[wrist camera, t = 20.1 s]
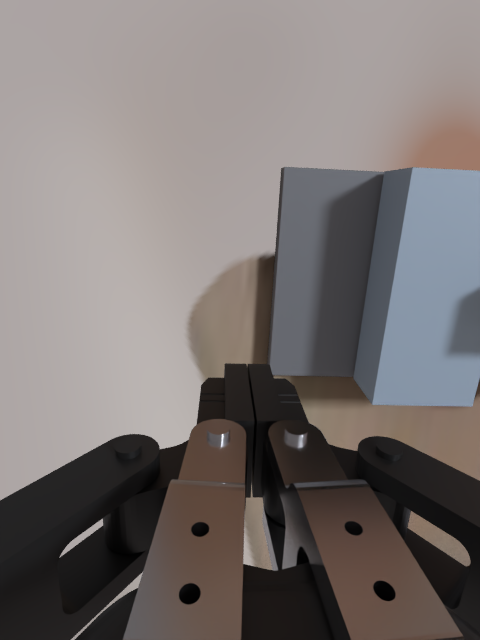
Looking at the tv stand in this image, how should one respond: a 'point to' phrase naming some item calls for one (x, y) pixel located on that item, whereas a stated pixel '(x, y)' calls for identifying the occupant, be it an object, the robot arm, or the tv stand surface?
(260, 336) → the tv stand surface
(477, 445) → the tv stand surface
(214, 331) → the tv stand surface
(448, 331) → the vise jaw
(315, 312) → the panel
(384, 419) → the tv stand surface
